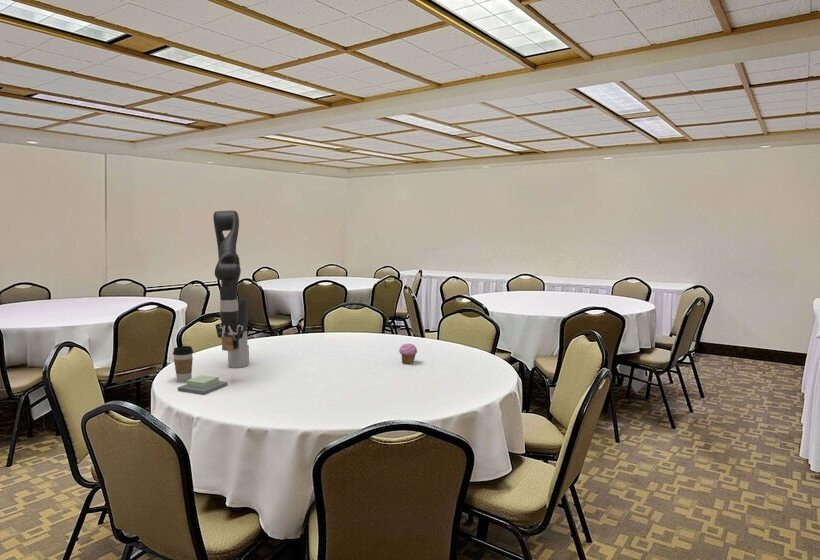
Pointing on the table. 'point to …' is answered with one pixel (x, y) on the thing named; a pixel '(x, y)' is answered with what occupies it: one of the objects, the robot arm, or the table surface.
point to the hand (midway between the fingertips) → (230, 347)
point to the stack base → (202, 391)
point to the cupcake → (408, 353)
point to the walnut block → (228, 343)
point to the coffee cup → (183, 363)
